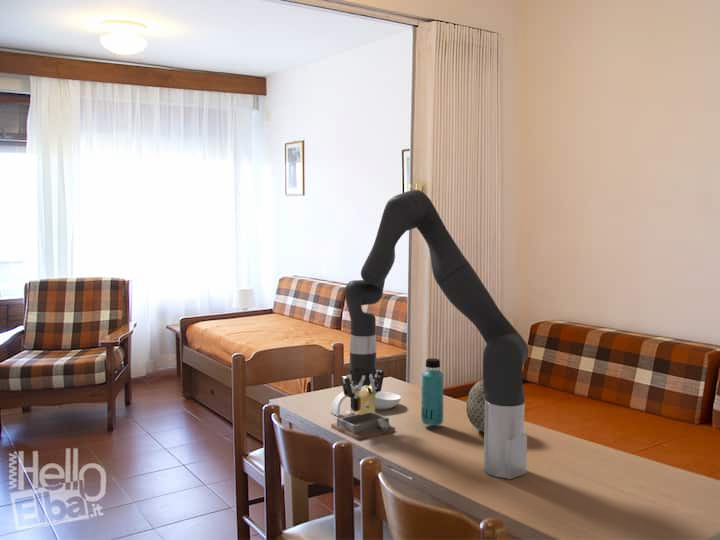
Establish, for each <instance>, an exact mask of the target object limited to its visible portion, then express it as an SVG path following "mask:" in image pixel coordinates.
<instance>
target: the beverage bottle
mask: <svg viewBox="0 0 720 540" xmlns="http://www.w3.org/2000/svg"><path fill="white" fill-rule="evenodd" d="M440 361H441V360H440V359H439V358H433V357H432V358H431V357H430V358H426V360H425V368H429V369H425V370H424V371H423V372H422V374H421V377H422V379H421V407H420V408H421V410H420V411H421V412H420V414H421V416H420V417H421V422H422V424H424V425H428V426H439V425H442V424H443V423H444V375H445V374H444V373H443V372H442V371H440V369H437V368H440V367H441V362H440Z"/></svg>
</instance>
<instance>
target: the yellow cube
mask: <svg viewBox="0 0 720 540" xmlns="http://www.w3.org/2000/svg"><path fill="white" fill-rule="evenodd" d="M350 411H351V412H353V413H355V414H360V415H363V414H367V413H372V412H375V413H376V409H375V394H373V393H370V392H367V390H362V391H360V392H359V394H358V411H353V410H352V409H351V408H350Z"/></svg>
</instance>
